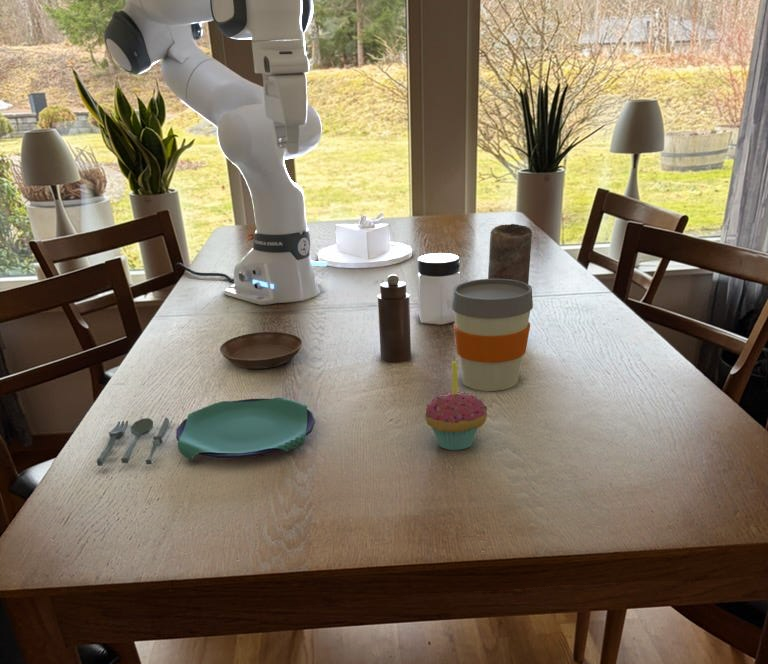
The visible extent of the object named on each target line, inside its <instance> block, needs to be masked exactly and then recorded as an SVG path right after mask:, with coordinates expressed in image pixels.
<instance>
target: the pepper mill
mask: <svg viewBox="0 0 768 664" xmlns="http://www.w3.org/2000/svg"><path fill="white" fill-rule="evenodd" d="M399 278H400V277H399V276H398V275H396V274H394V273H393V274H390V275H388V277H387V278H386V281H383V282H382V283H380V284H379V287H380V288H379V289H380V294H378V295H377V307H378V327H379V328H378V329H379V330H378V331H379V348H380V349H379V350H380V351H379V353H380V359H381V360H382V361H383V362H386V363H391V364H392V363H403V362H406V361H409V360H411V358H412V348H411V347H412V343H411V342H412V340H411V310H410V309H411V308H410V305H411V304H410V294H409V293H407V283H406V282H405V281H401V280H400V279H399Z"/></svg>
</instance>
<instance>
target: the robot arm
mask: <svg viewBox="0 0 768 664" xmlns="http://www.w3.org/2000/svg"><path fill="white" fill-rule="evenodd" d="M124 1H125V5H124V6H123V7H122V8H121V9H120V10H119V11H116V10H114V12H113V13H112V16H111V18H110V20H109V22H108V23H107V25H106V27H105V29H104V45H105V46H106V49H107V50H108V52H109V54H110V56H111V57H112V59H113V60H114V61H115V63H116V64H118V65H119V66H120V68H122V70H124V71H125V72H127V73H130V74H132V75H136V76H137V75H140V74H143V73H145V72H147V71H148V70H150V69H151V68H152V66H153V65H155V64H156V63H158V62H160V61H161V64H160V73H161V76H162V79H163V82H164V83H165V85H166V86H167V87H168V88H169V90H170V91H171V92H172V93H173V94H174V95H175V96H176V97H177V99H179V100H180V101H181V102H182V103H183V104H185V106H187V107H188V108H190V109H191V110H192V111H194V113H196V114H198V115H199V116H200V117H202V118H203V119H205V120H206V121H208V123H210V124H212V125H213V126H215V127H216V128H217V130H216V132H217V133H216V134H217V135H216V136H217V142H218V145H219V149H220V150H221V151H222V152H221V153H222V154H223V155H224V157H225V158H226V159H227V160H228V161H230V162H231V163H232V164H233V165H234V166H235V167H236V168H237V169H238V170H239V172H240V174H241V175H242V177H243V179H244V181H245V183H246V185H247V187H248V191H249V193H250V197H251V204H252V208H253V216H254V222H255V229H256V230H255V232H253V233H250V234H248V235H247V237H249V238H248V239H247V241H251V240H252V245H251V249H250V250H249V251H248V252H247V254H245V256H243V258H242V259H241V260H240V261H238V262H237V263H236V265H235V266H234V269H233V278H232V277H230V276H229V275H227V274H226V273H222V272H198V271H195V270H193V269H191V268H189V267H187V266H186V265H184V264H183V263H181V262H176V264H175V265H174V269H178V268H179V267H181V268H182V269H183V270H185V271H187V272H189V273H190V274H193V275H195V276H201V277H223V278H225V279H227V280H228V281H230V282H231V283H233V284H232V285H230V286H228V287H227V288H226V289H224V294H225V295H226V296H229V297H232V298H236V299H239V300H242V301H245V302H248V303H252V304H257V305H260V306H266V305H267V306H268V305H272V304H284V303H285V304H286V303H295V302H301V301H305V300H310V299H313V298H315V297H317V296H318V295H319V294H320V293H321V290H320V288H319V285H318V282H317V278H316V274H315V271H314V266H316V267H327V266H328V265H327V263H326V262H319V260H318V261H316V260H312V256H311V233H310V229H309V227H308V225H307V214H306V204H305V203H306V201H305V194H304V191H303V189H302V187H301V186H300V185H299V184H298V183H296V182H294V181H293V180H292V179H291V177H290V175H289V173H288V170H287V167H286V163H285V160H290V159H295V158H299V157H302V156H304V155H306V154H307V153H309V152H311V151H312V150H314V149H315V148H316V147H317V146H318V145H319V144H320V141H321V139H322V133H323V128H322V127H323V125H322V120H321V118H320V115H319V113H318V112H317V110H316V108H314V107H313V105H311V104H309V103H308V83H307V75H306V74H308V73H309V72H310V61H309V58H308V56H307V51H306V40H305V33H306V31H307V30H308V28H309V26H310V24H311V22H312V19H313V16H314V1H313V0H124ZM212 21H213V22H214V24H215V26H216V28H217V29H218V31H220V33H221V34H222V35H224V36H225V37H226V38H230V39H233V40H251V49H252V59H253V69H254V74H261V75H262V83H263V84H262V85H263V86H262V85H260V84H257V83H255V82H252V81H250V80H249V79H247V78H244V77H242V76H241V75H240V74H238V73H237V72H235V71H233V70H232V69H230V68H229V67H228V66H226V65H225V64H223V63H221V62H220V61H218V60H217V59H216V58H214V57H212V56H211V55H209V54H207V53H205V52H204V51H203V50H202V49H201V48H200V47H199V46H198V45H197V43H196V41H199V40H201V38H202V36H203V28H202V24H203V23H206V22H212Z"/></svg>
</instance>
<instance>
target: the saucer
mask: <svg viewBox="0 0 768 664" xmlns="http://www.w3.org/2000/svg"><path fill="white" fill-rule="evenodd" d="M302 346H303V340H302V338H300V337H299V336H298V335H295V334H293V333H289V332H283V331H259V332H251V333H245V334H241V335H238V336H235V337H231V338H230V339H227V340H226V341H224V342H223V343H222V344H221V345H220V347H219V352H220V353H221V355H222V356H223V357H224V358H225V359H226V360H228V361H229V362H230V363H232V364H234V365H235V366H237V367H240V368H243V369H251V370H261V369H262V370H263V369H271V368H275V367H278V366H282V365H284V364H287V363H288V362H290V361H291V360H292V359H293V358H295V357H296V355H297V354H298V353H299V351H300V350H301V348H302Z"/></svg>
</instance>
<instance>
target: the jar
mask: <svg viewBox="0 0 768 664" xmlns="http://www.w3.org/2000/svg"><path fill="white" fill-rule="evenodd" d="M460 266H461V261H460V256H458V255H456V254H453V253H446V252H445V253H444V252H443V253H442V252H438V253H427V254H424V255H421V256H419V257H418V258H417V302H418V303H417V306H418V310H417V311H418V318H419V321H420V323H421V324H427V325H429V324H430V325H437V326H438V325H439V326H443V325H444V326H445V325H447V324H451V323H455V314H454V311H453V309H452V301H453V291H454V288H455V286H457V285H459V284H461V273H460Z"/></svg>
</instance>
